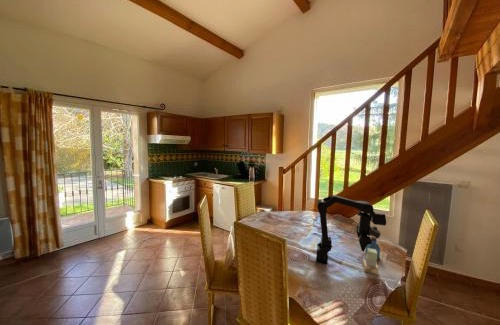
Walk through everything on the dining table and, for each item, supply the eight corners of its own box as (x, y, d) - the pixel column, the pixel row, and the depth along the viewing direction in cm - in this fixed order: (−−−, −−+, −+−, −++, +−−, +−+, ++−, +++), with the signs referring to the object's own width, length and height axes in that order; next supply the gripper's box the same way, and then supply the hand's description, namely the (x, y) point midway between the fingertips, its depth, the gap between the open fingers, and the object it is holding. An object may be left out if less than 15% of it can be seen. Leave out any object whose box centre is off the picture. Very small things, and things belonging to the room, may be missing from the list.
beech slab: (364, 272, 125) (365, 265, 124) (362, 265, 132) (363, 259, 131) (378, 274, 123) (378, 268, 122) (375, 267, 129) (375, 261, 129)
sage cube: (368, 259, 124) (368, 251, 124) (366, 255, 129) (367, 248, 128) (376, 260, 123) (377, 253, 122) (375, 256, 127) (375, 249, 127)
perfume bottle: (369, 256, 140) (370, 239, 139) (365, 251, 146) (367, 235, 145) (379, 257, 139) (380, 240, 138) (375, 252, 145) (376, 236, 144)
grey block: (366, 264, 125) (366, 258, 125) (365, 260, 130) (365, 254, 129) (375, 267, 123) (376, 260, 123) (374, 262, 128) (375, 256, 127)
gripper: (384, 232, 115) (380, 258, 117) (377, 219, 132) (374, 243, 134) (361, 228, 118) (357, 254, 121) (357, 216, 136) (354, 239, 138)
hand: (361, 247), depth 128 cm, fingers open, 9 cm apart
